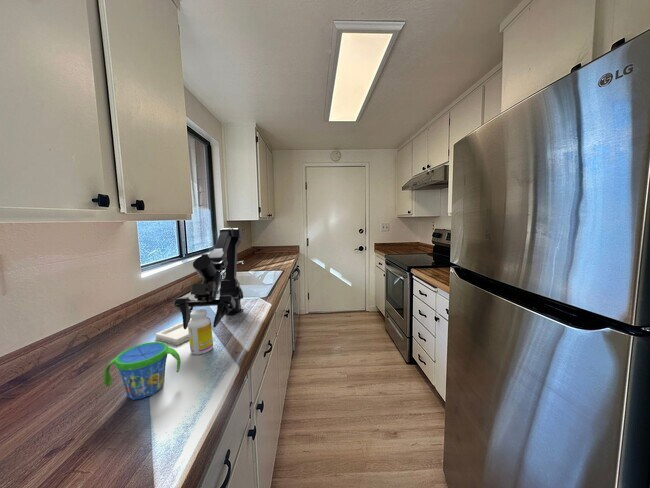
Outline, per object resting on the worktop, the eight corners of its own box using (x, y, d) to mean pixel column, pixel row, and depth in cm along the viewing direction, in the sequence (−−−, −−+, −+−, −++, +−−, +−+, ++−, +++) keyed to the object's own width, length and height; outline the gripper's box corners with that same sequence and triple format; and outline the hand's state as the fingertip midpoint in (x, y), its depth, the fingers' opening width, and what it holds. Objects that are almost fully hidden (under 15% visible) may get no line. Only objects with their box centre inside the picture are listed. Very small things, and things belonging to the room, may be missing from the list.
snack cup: (187, 372, 69) (184, 337, 68) (173, 398, 59) (169, 357, 58) (122, 382, 66) (117, 346, 65) (96, 412, 56) (89, 369, 54)
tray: (186, 325, 101) (186, 320, 101) (207, 330, 96) (207, 325, 95) (156, 339, 90) (155, 333, 90) (177, 345, 85) (176, 339, 85)
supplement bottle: (217, 344, 84) (214, 307, 83) (206, 355, 77) (202, 315, 76) (198, 344, 85) (195, 308, 83) (185, 355, 78) (181, 315, 77)
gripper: (173, 274, 83) (156, 319, 73) (230, 271, 84) (221, 315, 74) (187, 291, 92) (173, 333, 82) (238, 288, 93) (231, 329, 83)
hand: (199, 327), depth 80 cm, fingers open, 9 cm apart
